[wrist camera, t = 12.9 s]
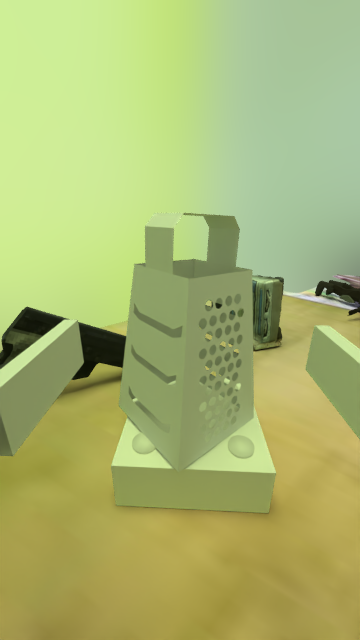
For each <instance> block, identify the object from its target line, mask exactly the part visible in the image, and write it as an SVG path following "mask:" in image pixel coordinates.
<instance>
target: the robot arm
mask: <svg viewBox="0 0 360 640" xmlns="http://www.w3.org/2000/svg"><path fill="white" fill-rule="evenodd" d="M83 363H84V359H83V352H82V345H81V338H80V331H79V324H78V320H63V321H62V322H61V323H59V324H58V325H57V326H56V327H54V328H53V329H52V330H50V331H49V332H48V333H47V334H45V335H44V336H43V337H41V338H40V339H39V340H38V341H36V342H35V343H34V344H32V345H31V346H30V347H29V348H27V349H26V350H25V351H23V352H22V353H21V354H20V355H18V356H17V357H16V358H14V359H13V360H10V361H8V362H6V363H4V364H2V365H0V456H14V454H15V453H16V452H17V450H18V449H19V448H20V446H21V445H22V444H23V442H24V441H25V440H26V438H27V437H28V436H29V434H30V433H31V432H32V430H33V429H34V428H35V427H36V425H37V424H38V423H39V421H40V420H41V419H42V417H43V416H44V415H45V413H46V412H47V411H48V409H49V408H50V407H51V405H52V404H53V403H54V401H55V400H56V399H57V398H58V396H59V395H60V394H61V392H62V391H63V390H64V388H65V387H66V386H67V384H68V383H69V382H70V380H71V379H72V378H73V376H74V375H75V374H76V372H77V371H78V370H79V369H80V367H81V366H82V365H83ZM306 371H307V372H308V373H309V374H310V376H311V377H312V378H313V380H314V381H315V382H316V383H317V385H318V386H319V387H320V389H321V390H322V391H323V393H324V394H325V395H326V396H327V398H328V399H329V400H330V402H331V403H332V404H333V406H334V407H335V408H336V409H337V411H338V412H339V413H340V415H341V416H342V417H343V418H344V420H345V421H346V422H347V424H348V425H349V426H350V428H351V429H352V430H353V431H354V433H355V434H356V435H357V437H358V438H359V439H360V349H359V348H358V347H356V346H355V345H354V344H352V343H351V342H350V341H348V340H347V339H346V338H344V337H343V336H342V335H340V334H339V333H338V332H336V331H335V330H334V329H333V328H331V327H330V326H316V325H315V326H314V331H313V336H312V341H311V345H310V350H309V355H308V359H307V364H306Z"/></svg>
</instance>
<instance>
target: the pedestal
mask: <svg viewBox="0 0 360 640" xmlns="http://www.w3.org/2000/svg"><path fill="white" fill-rule="evenodd" d="M224 382H225V383H226V384H229V382H230V380H228V379H227V378H225V380H224ZM175 383H176V380H175V381H173V382H171V383H169V384H168V385H174V386H175ZM199 384H200V385H201V386H203V385H204V384H202V383H201V382H199ZM240 387H241V384H240V383H239V384H236V386H235V389H238V390H239V389H240ZM211 392H212V390H211V389H210V388H208V387H207V388H206V390H205V394H206V395H210V394H211ZM218 399H219V401H222V400H223V399H224V398H223V397H222V396H220V395H219V398H218ZM133 402H134V403H135V404H136V405H137V406H138V407H139V408H140V409H141V410H142V411H143V412H144V413H145V414H146V415H147V416H148V417H149V418H150V419H151V420H152V421H153V422H154V423H155V424H156V425H157V426H158V427H159V428H160V429H161V430H162V431H164V432H166V433H169V432H170V424H162V423H161V422H160V421H159V420H158V419H157V418H156V417H155V416H154V415H153V414H152V413H151V412H150V411H149V410H148V409H147V408H146V407H145V406H144V405H143V404H142V403H141V402H140V401H139V400H138V399H137V398H135V399H133ZM215 402H216V398H215V397H212V398H211V399H210V401H209V406H213V405H214V404H215ZM228 406H229V401H228V400H227V401H226V402H225V403H224V405H223V408H224V409H227V408H228ZM206 407H207V403H206V402H203V403H202V404H201V405H200V408H199V410H200V411H201V412H203V411H204V410H205V409H206ZM238 410H239V408H238V407H237V406H235V408H234V412H237V411H238ZM220 411H221V406H217V407H216V408H215V411H214V413H215V415H217V414H219V412H220ZM231 414H232V409H231V408H230V409H229V410H228V411H227V414H226V416H227V417H230V416H231ZM211 416H212V411H208V412H207V414H206V416H205V419H206V420H209V419H210V418H211ZM223 419H224V414H223V413H222V414H221V415H220V416H219V418H218V422H219V423H220V422H222V421H223ZM235 422H236V416H234V417H233V418H232V419H231V424H232V425H233V424H234V423H235ZM215 423H216V420H215V419H212V420H211V422H210V423H209V428H213V427H214V425H215ZM228 426H229V422H228V421H226V422H225V423H224V425H223V430H226V429H227V428H228ZM206 429H207V426H206V425H203V426H202V427H201V429H200V434H201V435H202V434H204V433H205V431H206ZM220 430H221V429H220V427H217V428H216V429H215V431H214V435H215V436H217V435H218V434H219V433H220ZM211 438H212V433H208V434H207V436H206V438H205V441H206V442H209V441H210V440H211ZM111 469H112V477H113V485H114V494H115V502H116V505H118V506H138V507H157V508H176V509H196V510H215V511H235V512H254V513H269V509H270V503H271V498H272V493H273V487H274V482H275V476H276V471H275V468H274V465H273V462H272V459H271V456H270V453H269V450H268V447H267V444H266V441H265V438H264V435H263V432H262V429H261V426H260V423H259V420H258V417H257V414H256V411H255V408H254V418H253V419H251V420H250V421H249V422H247V423H246V424H245V425H243V426H242V427H240V428H239V429H238V430H236V431H235V432H234V433H232V434H231V435H229V436H228V437H227V438H225V439H224V440H223V441H221V442H220V443H218V444H217V445H216V446H214V447H213V448H212V449H210V450H209V451H207V452H206V453H205V454H203V455H202V456H201V457H199V458H198V459H196V460H195V461H194V462H192V463H191V464H190V465H188V466H187V467H185V468H184V469H183V470H181V471H180V472H179V473H178V472H177V470H176V469H175V468H174V467H173V466H172V465H171V464H170V463H169V461H168V460H167V459H166V458H165V457H164V456H163V455H162V454H161V452H160V451H159V450H158V449H157V448H156V447H155V446H154V445H153V444H152V442H151V441H150V440H149V439H148V438H147V437H146V436H145V435H144V433H143V432H142V431H141V430H140V429H139V428H138V427H137V426H136V425H135V423H134V422H133V421H132V420H131V419H130V418H129V417H127V420H126V423H125V426H124V429H123V432H122V435H121V438H120V441H119V444H118V447H117V450H116V453H115V456H114V459H113V462H112V465H111Z"/></svg>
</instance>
